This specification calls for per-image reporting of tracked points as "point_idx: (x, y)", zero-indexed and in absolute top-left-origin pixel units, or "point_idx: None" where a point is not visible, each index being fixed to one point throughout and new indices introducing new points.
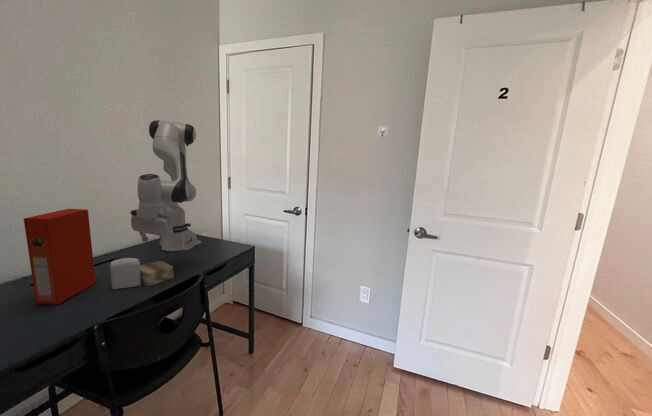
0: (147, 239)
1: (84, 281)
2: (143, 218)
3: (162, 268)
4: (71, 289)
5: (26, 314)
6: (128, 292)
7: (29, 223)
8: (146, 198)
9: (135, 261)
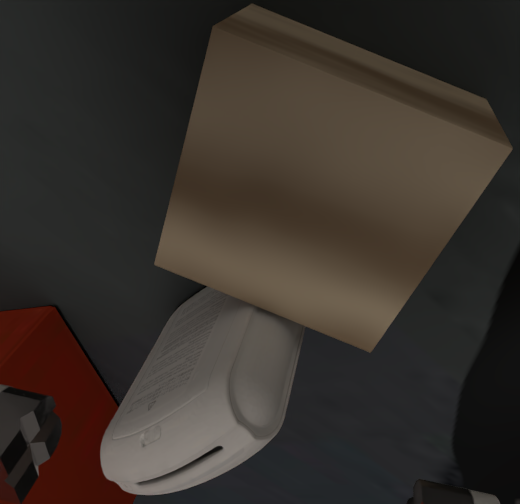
0: (27, 421)
1: (66, 394)
2: None
3: (415, 223)
4: None
5: (137, 499)
6: (318, 352)
7: None
8: None
9: (256, 450)
